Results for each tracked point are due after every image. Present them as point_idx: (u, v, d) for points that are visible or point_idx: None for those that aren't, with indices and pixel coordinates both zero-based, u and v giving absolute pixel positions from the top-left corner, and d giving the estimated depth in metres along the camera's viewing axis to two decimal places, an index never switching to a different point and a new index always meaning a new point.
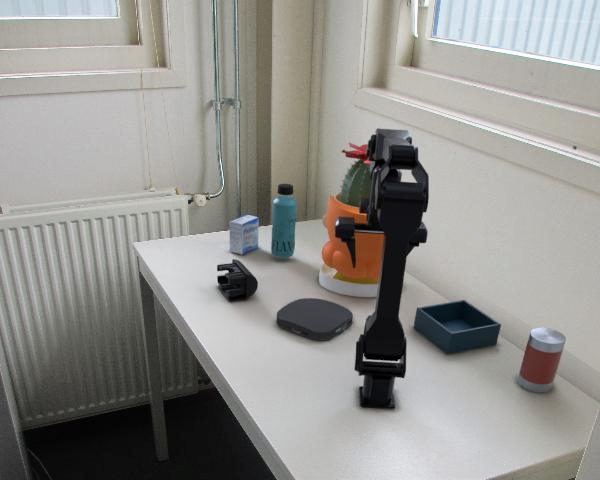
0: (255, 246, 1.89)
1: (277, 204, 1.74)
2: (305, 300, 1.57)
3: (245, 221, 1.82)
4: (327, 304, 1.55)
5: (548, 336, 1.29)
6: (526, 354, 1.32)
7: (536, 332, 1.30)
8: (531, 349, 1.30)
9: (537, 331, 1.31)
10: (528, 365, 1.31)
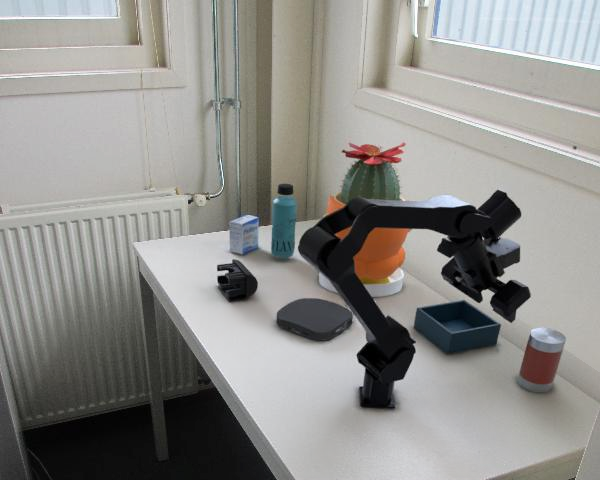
0: (255, 246, 1.89)
1: (277, 204, 1.74)
2: (305, 300, 1.57)
3: (245, 221, 1.82)
4: (327, 304, 1.55)
5: (548, 336, 1.29)
6: (526, 354, 1.32)
7: (536, 332, 1.30)
8: (531, 349, 1.30)
9: (537, 331, 1.31)
10: (528, 365, 1.31)
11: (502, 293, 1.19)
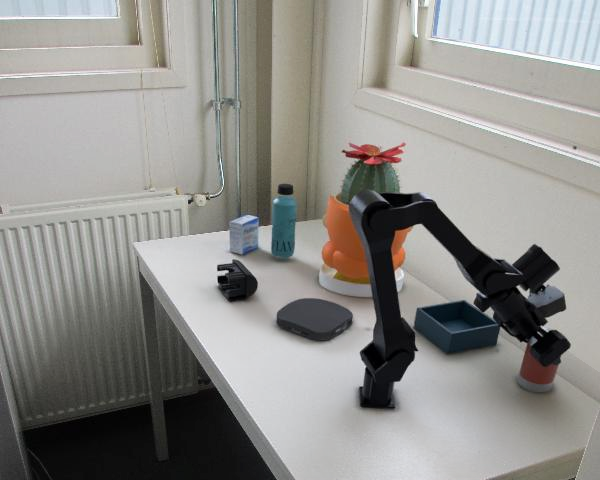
0: (255, 246, 1.89)
1: (277, 204, 1.74)
2: (305, 300, 1.57)
3: (245, 221, 1.82)
4: (327, 304, 1.55)
5: None
6: (526, 354, 1.32)
7: None
8: None
9: None
10: (528, 365, 1.31)
11: (540, 344, 1.22)
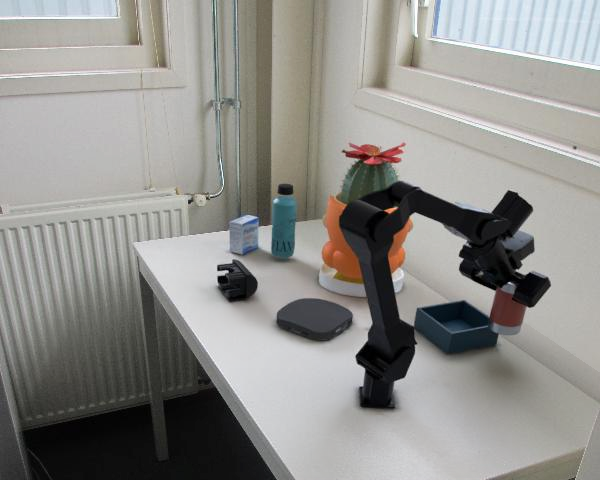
0: (255, 246, 1.89)
1: (277, 204, 1.74)
2: (305, 300, 1.57)
3: (245, 221, 1.82)
4: (327, 304, 1.55)
5: None
6: (498, 300, 1.36)
7: None
8: (504, 294, 1.34)
9: None
10: (502, 310, 1.36)
11: (524, 286, 1.26)
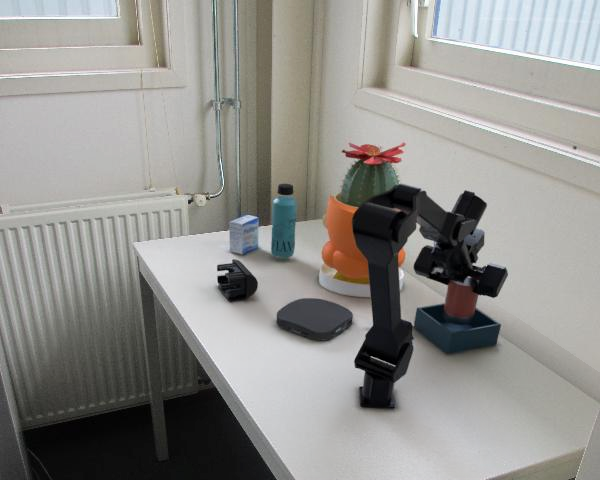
0: (255, 246, 1.89)
1: (277, 204, 1.74)
2: (305, 300, 1.57)
3: (245, 221, 1.82)
4: (327, 304, 1.55)
5: None
6: (454, 293, 1.43)
7: None
8: (460, 287, 1.42)
9: None
10: (459, 302, 1.43)
11: (486, 278, 1.34)
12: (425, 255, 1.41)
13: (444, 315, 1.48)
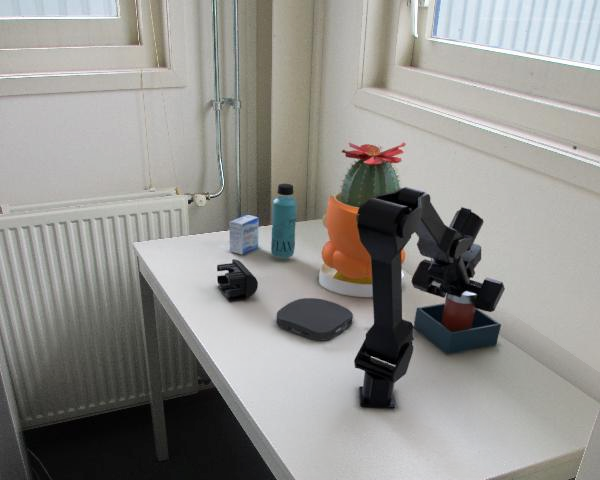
0: (255, 246, 1.89)
1: (277, 204, 1.74)
2: (305, 300, 1.57)
3: (245, 221, 1.82)
4: (327, 304, 1.55)
5: None
6: (451, 310, 1.45)
7: None
8: (457, 305, 1.44)
9: None
10: (456, 319, 1.45)
11: (483, 293, 1.36)
12: (423, 269, 1.43)
13: None
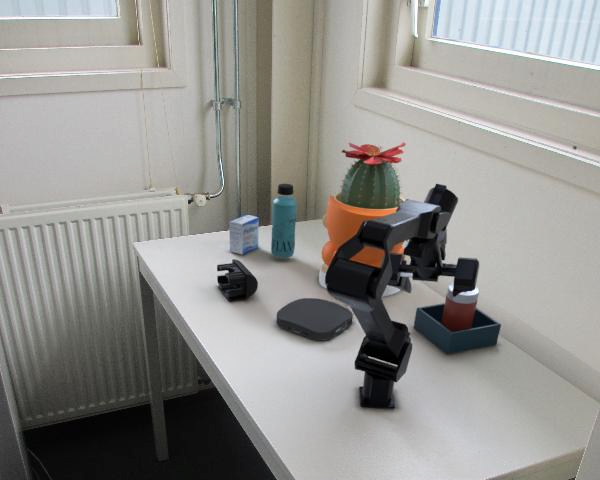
0: (255, 246, 1.89)
1: (277, 204, 1.74)
2: (305, 300, 1.57)
3: (245, 221, 1.82)
4: (327, 304, 1.55)
5: None
6: (451, 310, 1.45)
7: None
8: (457, 305, 1.44)
9: None
10: (456, 319, 1.45)
11: (461, 272, 1.28)
12: None
13: None
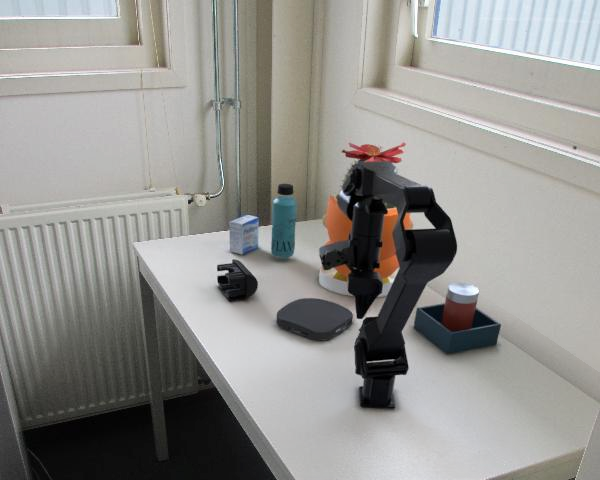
0: (255, 246, 1.89)
1: (277, 204, 1.74)
2: (305, 300, 1.57)
3: (245, 221, 1.82)
4: (327, 304, 1.55)
5: (464, 289, 1.45)
6: (451, 310, 1.45)
7: (454, 289, 1.44)
8: (457, 305, 1.44)
9: (453, 288, 1.45)
10: (456, 319, 1.45)
11: None
12: (364, 275, 1.21)
13: None
